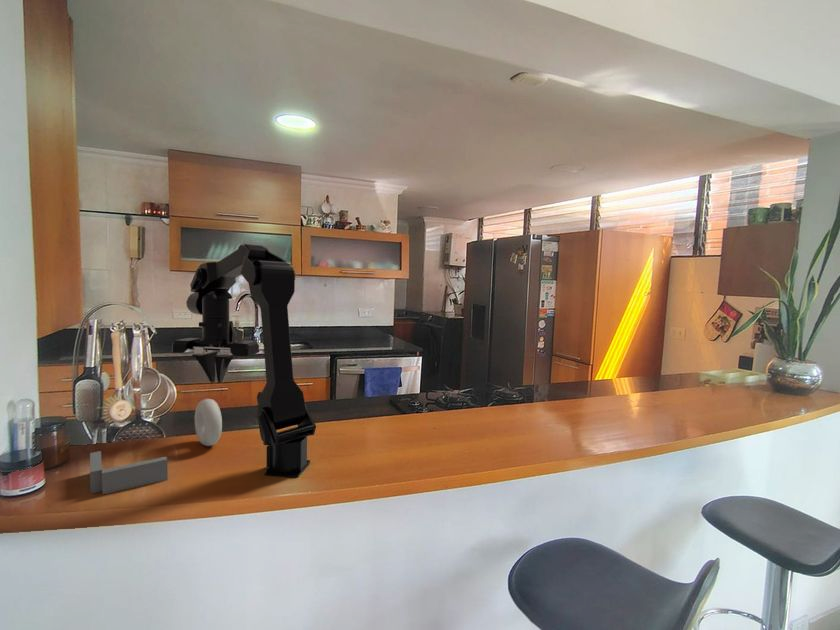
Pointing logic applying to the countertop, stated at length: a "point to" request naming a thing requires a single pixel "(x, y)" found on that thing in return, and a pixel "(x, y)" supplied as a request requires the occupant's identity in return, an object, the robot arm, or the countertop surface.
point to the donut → (208, 422)
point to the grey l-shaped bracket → (125, 474)
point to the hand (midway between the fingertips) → (216, 382)
